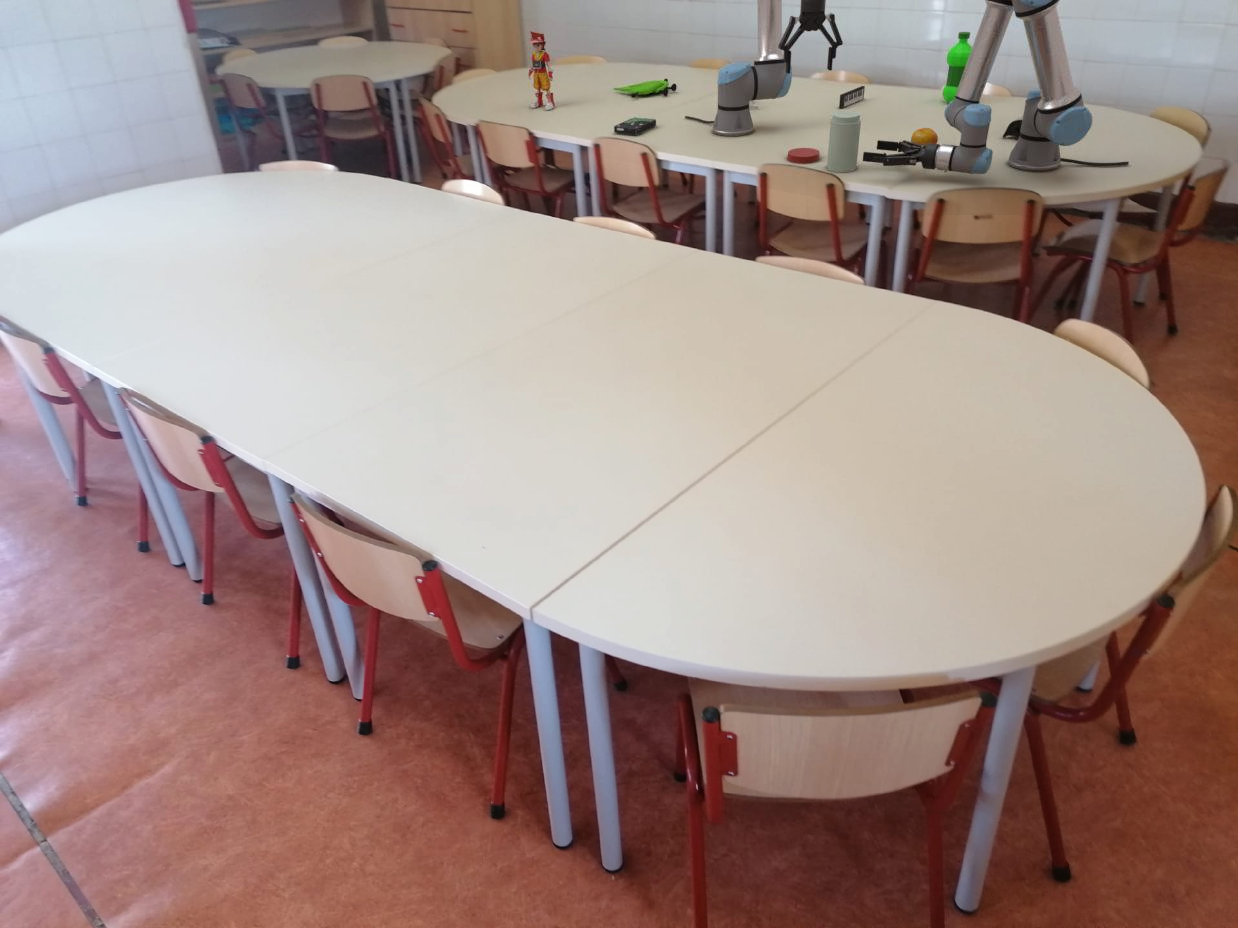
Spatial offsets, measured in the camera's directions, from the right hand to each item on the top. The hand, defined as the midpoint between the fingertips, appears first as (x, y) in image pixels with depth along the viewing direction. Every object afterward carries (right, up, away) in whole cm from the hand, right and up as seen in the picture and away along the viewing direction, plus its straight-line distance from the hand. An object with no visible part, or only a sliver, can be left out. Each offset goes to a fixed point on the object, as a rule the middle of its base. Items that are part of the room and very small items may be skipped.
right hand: (870, 150), depth 286 cm
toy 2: (-71, +65, +111) cm, 147 cm away
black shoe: (+67, +18, +32) cm, 76 cm away
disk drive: (-74, +29, +59) cm, 99 cm away
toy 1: (-113, +52, +97) cm, 158 cm away
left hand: (-19, +26, +3) cm, 33 cm away
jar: (-7, -3, +8) cm, 11 cm away
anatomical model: (-29, +47, +81) cm, 98 cm away
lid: (-18, +5, +17) cm, 25 cm away
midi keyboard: (+14, +45, +75) cm, 89 cm away
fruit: (+23, +7, +19) cm, 31 cm away
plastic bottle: (+53, +43, +69) cm, 97 cm away
